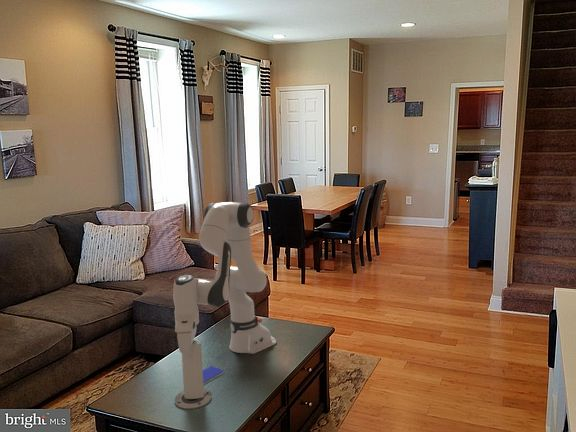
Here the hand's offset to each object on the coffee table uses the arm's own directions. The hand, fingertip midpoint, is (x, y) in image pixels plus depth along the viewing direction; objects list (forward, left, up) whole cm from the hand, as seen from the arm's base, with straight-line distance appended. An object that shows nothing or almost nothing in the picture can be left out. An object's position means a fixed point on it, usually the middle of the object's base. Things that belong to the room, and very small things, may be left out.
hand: (189, 353), depth 191 cm
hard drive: (-12, -14, -20) cm, 27 cm away
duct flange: (0, 0, -19) cm, 19 cm away
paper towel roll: (0, 0, -18) cm, 18 cm away
